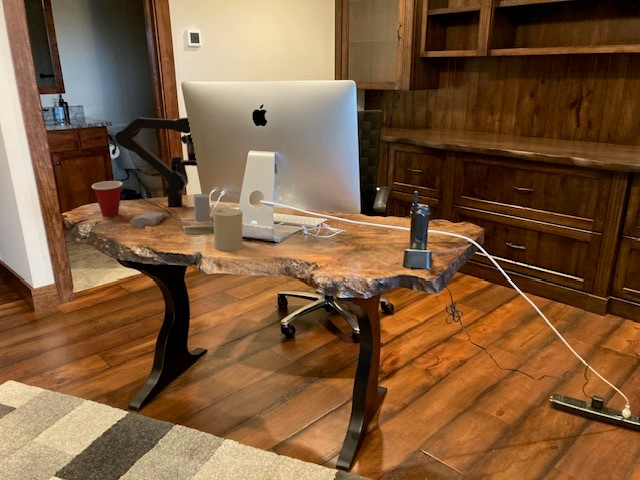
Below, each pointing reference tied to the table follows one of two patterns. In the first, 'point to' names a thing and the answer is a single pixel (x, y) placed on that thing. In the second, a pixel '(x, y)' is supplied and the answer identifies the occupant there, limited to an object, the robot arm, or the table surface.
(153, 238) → the table surface
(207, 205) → the slate block
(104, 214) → the plastic cup
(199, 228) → the trap board
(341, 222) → the table surface
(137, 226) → the stone block
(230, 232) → the can
